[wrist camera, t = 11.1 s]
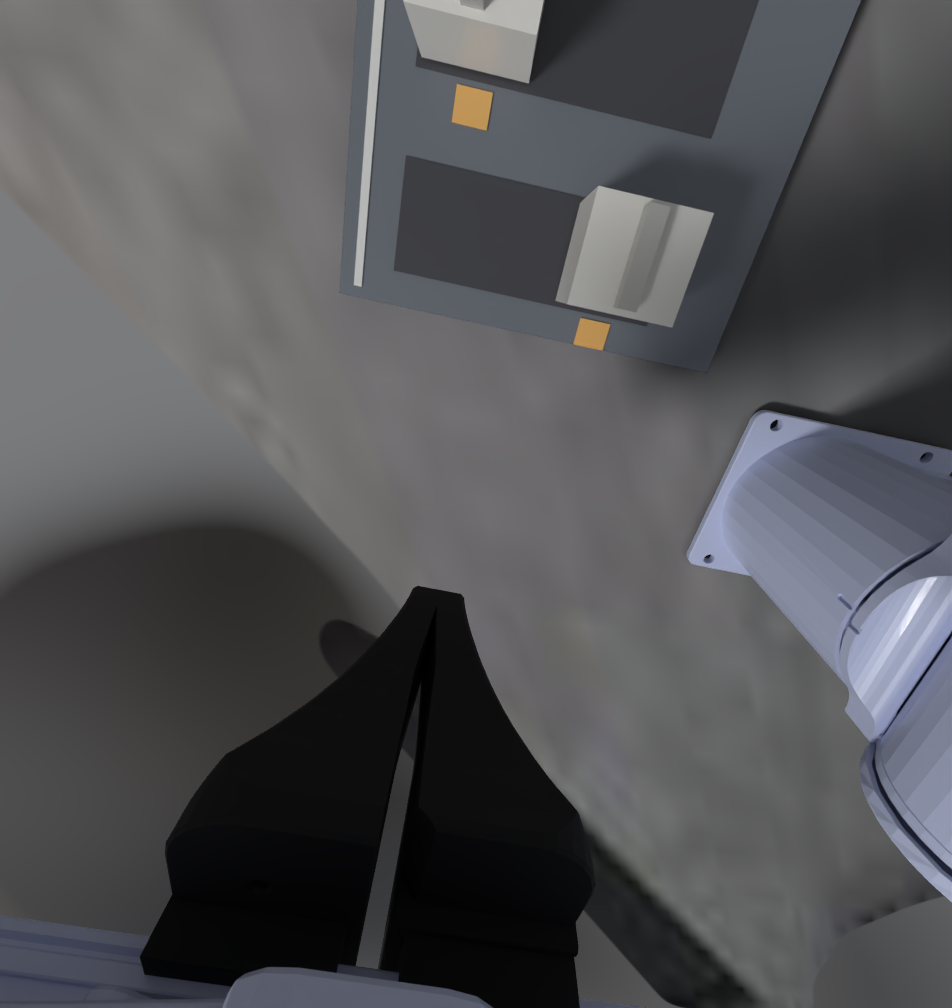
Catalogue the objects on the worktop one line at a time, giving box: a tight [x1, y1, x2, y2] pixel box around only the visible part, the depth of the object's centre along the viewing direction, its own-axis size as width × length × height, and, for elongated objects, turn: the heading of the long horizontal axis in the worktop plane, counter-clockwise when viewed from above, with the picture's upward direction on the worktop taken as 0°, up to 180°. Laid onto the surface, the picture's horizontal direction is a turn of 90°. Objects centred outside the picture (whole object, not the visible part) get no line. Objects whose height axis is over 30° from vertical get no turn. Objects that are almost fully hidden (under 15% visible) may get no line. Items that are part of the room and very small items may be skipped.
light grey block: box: [555, 186, 714, 327], centre depth 15 cm, size 4×3×4 cm
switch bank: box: [339, 0, 861, 373], centre depth 15 cm, size 15×18×1 cm
